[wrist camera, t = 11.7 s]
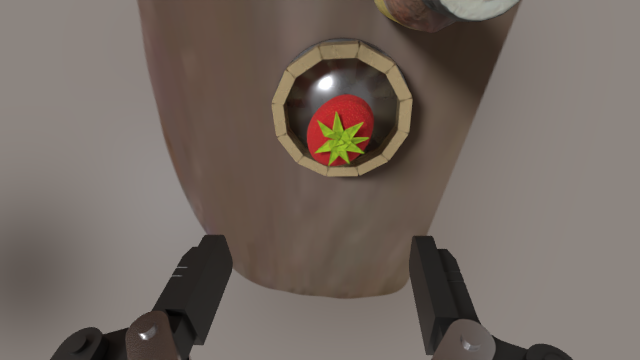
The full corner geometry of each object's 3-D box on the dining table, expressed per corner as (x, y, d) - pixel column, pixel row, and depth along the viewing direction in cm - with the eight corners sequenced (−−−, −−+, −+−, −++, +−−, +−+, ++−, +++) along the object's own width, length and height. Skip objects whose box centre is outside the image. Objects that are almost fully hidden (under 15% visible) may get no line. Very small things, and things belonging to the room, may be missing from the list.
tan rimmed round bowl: (267, 41, 32) (260, 46, 29) (415, 33, 30) (420, 38, 28) (285, 166, 40) (281, 178, 37) (402, 164, 38) (406, 176, 36)
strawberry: (300, 123, 35) (286, 169, 27) (337, 66, 32) (333, 98, 23) (343, 149, 37) (342, 200, 28) (383, 97, 33) (395, 138, 25)
